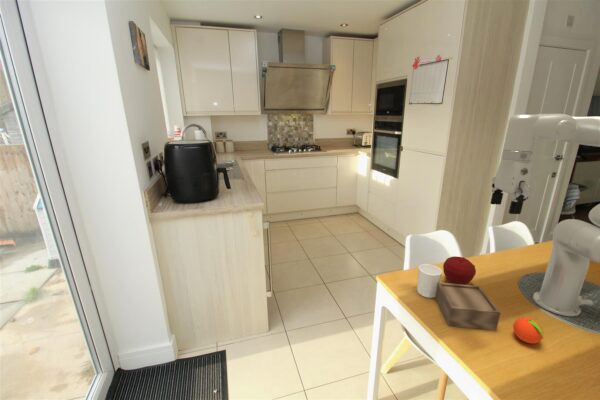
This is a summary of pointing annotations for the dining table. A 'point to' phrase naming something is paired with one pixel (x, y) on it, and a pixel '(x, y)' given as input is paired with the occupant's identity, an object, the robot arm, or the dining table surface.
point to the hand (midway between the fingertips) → (504, 208)
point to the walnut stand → (467, 306)
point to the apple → (458, 270)
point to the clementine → (528, 330)
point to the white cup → (428, 280)
